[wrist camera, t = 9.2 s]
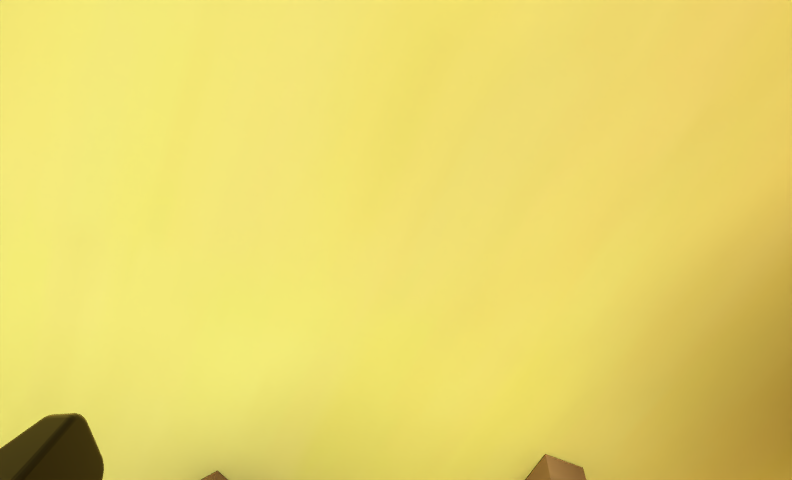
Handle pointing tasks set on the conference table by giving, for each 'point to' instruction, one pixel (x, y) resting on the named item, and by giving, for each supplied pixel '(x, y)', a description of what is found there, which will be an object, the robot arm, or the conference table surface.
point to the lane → (548, 476)
